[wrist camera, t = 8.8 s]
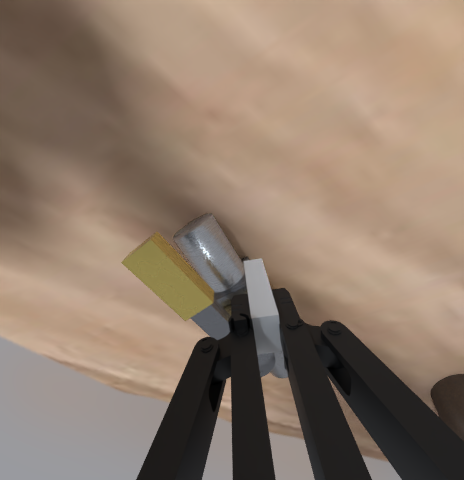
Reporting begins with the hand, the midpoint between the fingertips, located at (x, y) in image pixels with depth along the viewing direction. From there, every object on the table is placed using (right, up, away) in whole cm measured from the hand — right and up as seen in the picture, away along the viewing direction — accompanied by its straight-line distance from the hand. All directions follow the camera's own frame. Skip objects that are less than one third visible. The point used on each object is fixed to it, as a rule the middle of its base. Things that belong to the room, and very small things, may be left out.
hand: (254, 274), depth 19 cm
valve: (0, -4, +13) cm, 13 cm away
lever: (-4, -3, +2) cm, 5 cm away
